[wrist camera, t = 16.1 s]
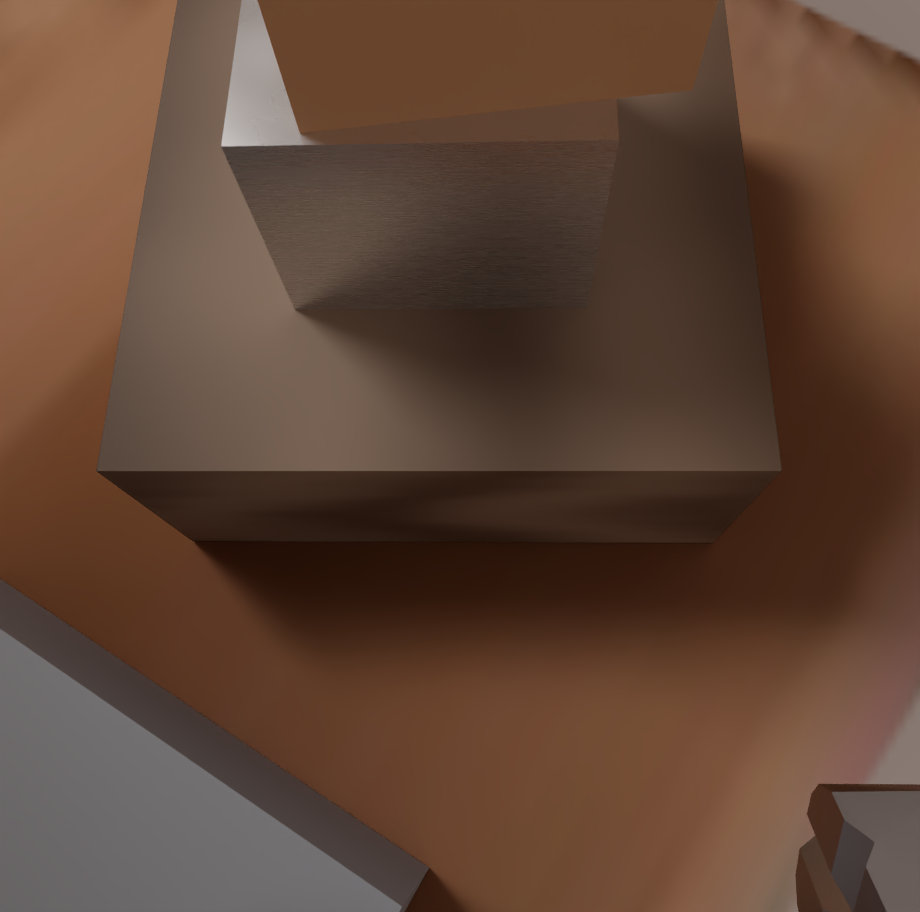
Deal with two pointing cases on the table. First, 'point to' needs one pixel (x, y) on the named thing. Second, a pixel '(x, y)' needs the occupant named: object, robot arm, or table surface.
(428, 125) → the housing base
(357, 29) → the cover
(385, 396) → the stand
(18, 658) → the stand
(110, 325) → the table surface
